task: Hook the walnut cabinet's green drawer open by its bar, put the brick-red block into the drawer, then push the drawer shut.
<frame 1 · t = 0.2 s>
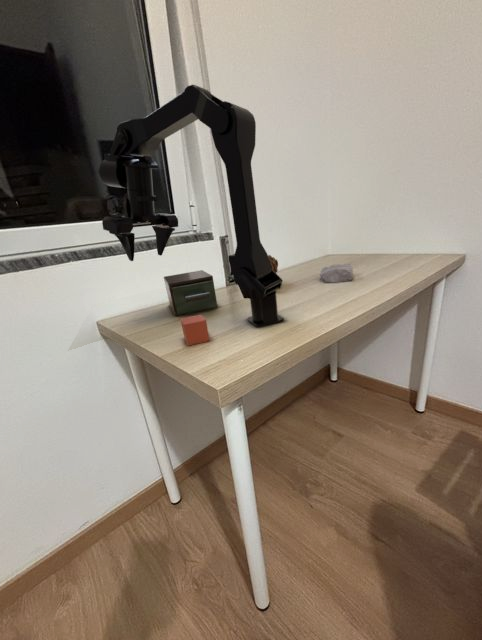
hand: (146, 257, 79), 15 cm above the table, tool pointing down, fingers open, 9 cm apart
wooden carving: (272, 287, 99), on the table
block: (196, 339, 62), on the table
stone block: (335, 279, 99), on the table
drawer: (192, 294, 82), point 4 cm above the table, slide at 1.0 cm
cabinet: (192, 306, 88), on the table
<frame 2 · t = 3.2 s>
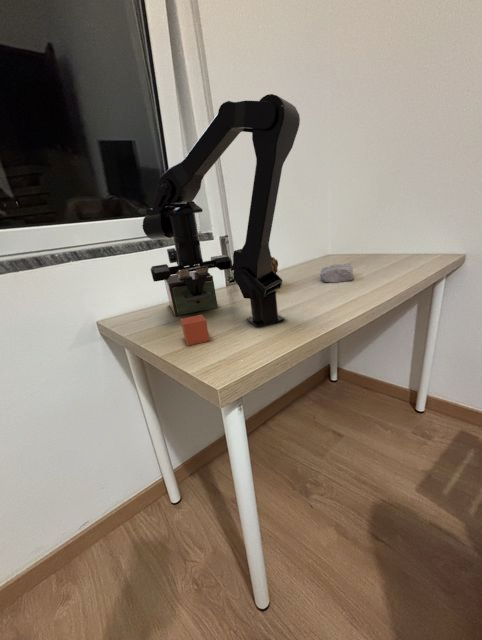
hand: (198, 302, 76), 4 cm above the table, tool pointing down, fingers closed, pressing on drawer
drawer: (193, 295, 81), point 4 cm above the table, slide at 1.8 cm, touching gripper
everything else where it was.
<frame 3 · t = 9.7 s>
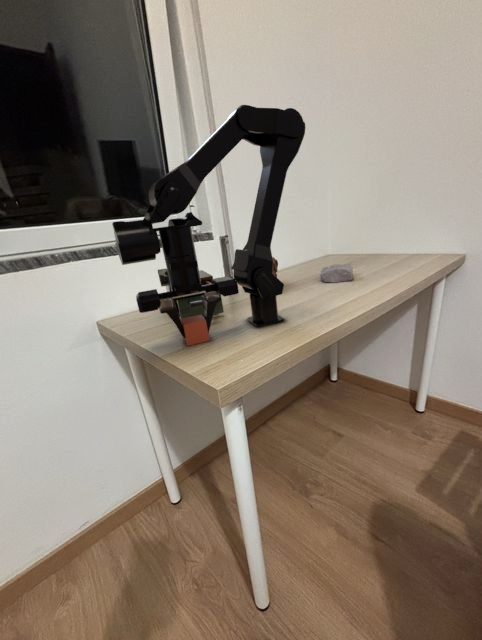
hand: (196, 335, 62), 1 cm above the table, tool pointing down, fingers closed on block, 4 cm apart
block: (196, 339, 62), on the table, touching gripper
drawer: (197, 299, 76), point 4 cm above the table, slide at 7.8 cm
everything else where it was.
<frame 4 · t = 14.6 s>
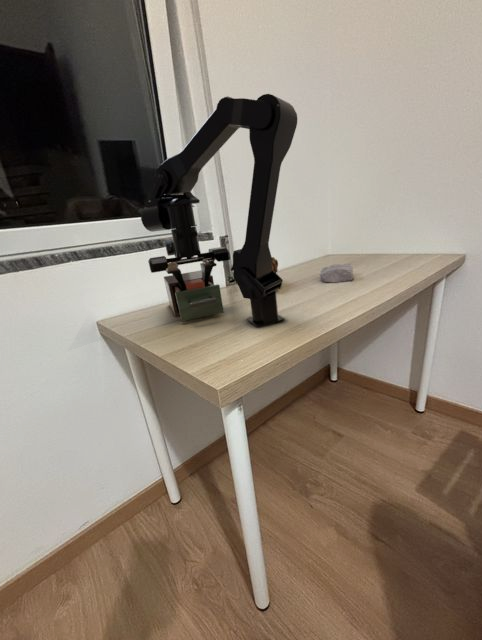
hand: (196, 294, 76), 5 cm above the table, tool pointing down, fingers closed on block, 4 cm apart
block: (196, 298, 77), point 4 cm above the table, touching gripper
everything else where it was.
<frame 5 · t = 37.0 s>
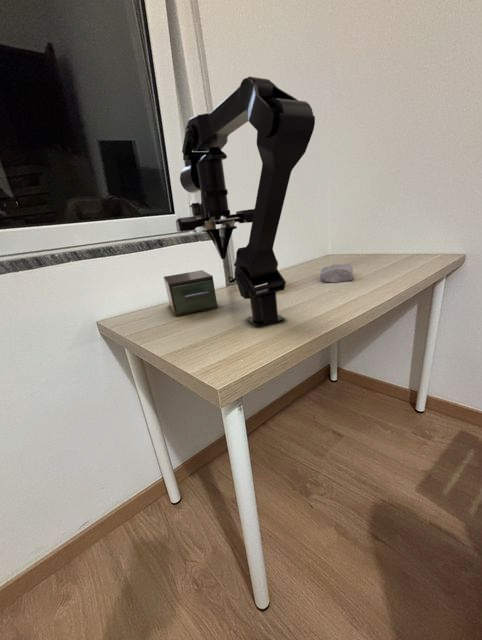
hand: (223, 258, 74), 13 cm above the table, tool pointing down, fingers closed
block: (193, 301, 85), point 2 cm above the table, touching drawer
drawer: (192, 294, 83), point 4 cm above the table, slide at 0.0 cm, touching block
everything else where it was.
at the end: block inside the target area in the cabinet (3.2 cm from its centre), point 2.0 cm above the cabinet's base; drawer slide at 0.0 cm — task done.
